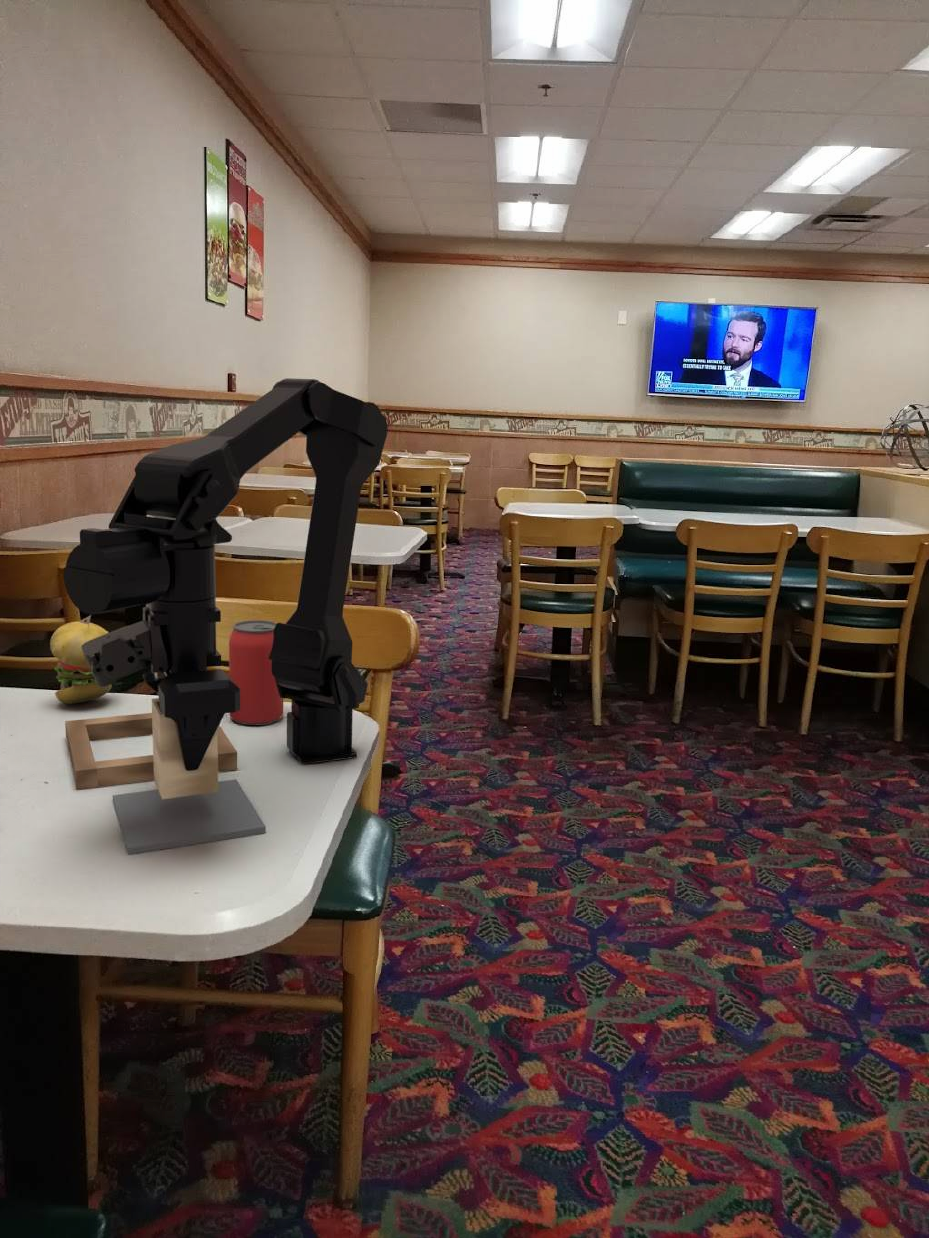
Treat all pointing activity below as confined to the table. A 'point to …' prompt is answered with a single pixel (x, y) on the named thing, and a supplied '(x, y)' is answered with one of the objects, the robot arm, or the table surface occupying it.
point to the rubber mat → (185, 818)
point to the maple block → (179, 761)
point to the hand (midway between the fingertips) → (186, 759)
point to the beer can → (254, 673)
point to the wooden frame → (125, 768)
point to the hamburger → (76, 661)
